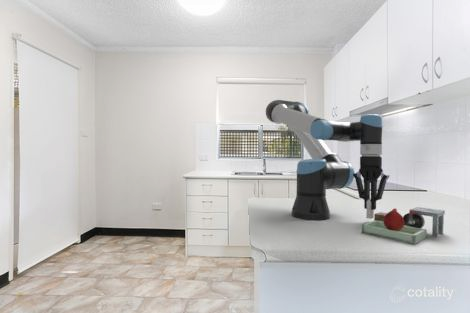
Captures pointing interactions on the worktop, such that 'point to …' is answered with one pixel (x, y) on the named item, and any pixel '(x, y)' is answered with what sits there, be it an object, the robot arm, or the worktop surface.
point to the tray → (395, 232)
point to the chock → (379, 216)
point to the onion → (393, 220)
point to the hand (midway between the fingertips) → (370, 217)
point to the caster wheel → (417, 220)
